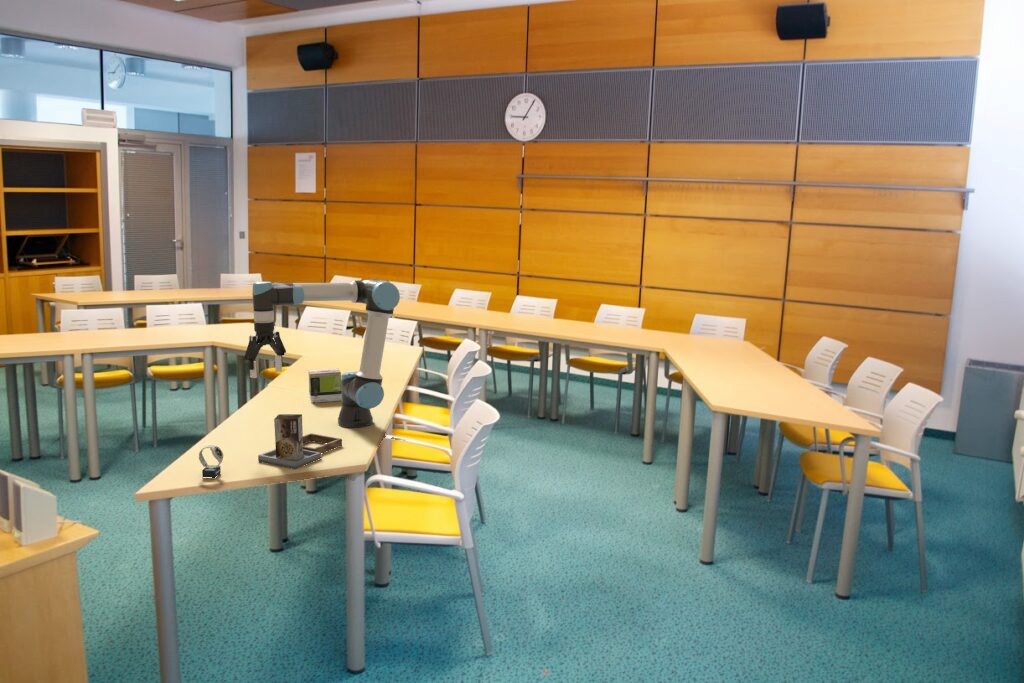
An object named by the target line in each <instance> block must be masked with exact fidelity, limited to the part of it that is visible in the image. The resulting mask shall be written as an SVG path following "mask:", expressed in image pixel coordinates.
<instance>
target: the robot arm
mask: <svg viewBox="0 0 1024 683" xmlns="http://www.w3.org/2000/svg"><path fill="white" fill-rule="evenodd" d="M400 298H401V296H400V290H399V289H398V287H397V286H396V285H395V284H394V283H393V282H390V281H387V280H382V279H378V278H369V279H361V280H359V279H358V280H351V282H292V283H291V282H274V283H273V282H271V281H255V282H254V283H253V284H252V301H253V302H252V308H253V321H254V323H253V328H254V332H255V335H252V334H251V335H249V337H248V344H247V347H246V350H245V354H244V357H243V361H246V362H247V363H248V369H249V376H250V377H249V378H252V379H258V375H257V373H258V372H257V361H255V360H256V358H257V357H258V355H259V353H260V351H261V349H262V348H263V347H264V346H267V345H269V346H270V348H271V349H272V350H273V351H274V353H275V355H274V362H275V363H274V364H275V366H274V367H275V369H274V370H275V372H279V373H282V372H283V366H282V364H283V356H284V355H285V354H287V350H286V347H285V345H284V342H283V341H282V338H281V335H280V331H276V330H275V322H274V320H275V313H274V310H275V309H274V306H275V307H276V306H292V305H294V306H297V305H302V304H303V303H304V302H332V301H334V302H335V301H336V302H337V301H339V302H340V301H341V302H343V301H344V302H345V301H346V302H347V301H348V302H349V301H350V302H351V303H354V304H365V312H366V313H367V321H366V327H365V334H364V341H363V346H362V353H361V354H362V355H361V358H360V359H361V360H360V364H359V365H360V366H359V370H358V371H349V372H344V373H341V395H342V401H341V408H340V410H339V414H338V418H337V425H338V424H339V426H340V425H341V427H343V426H344V427H345V428H363V427H368V426H370V425H373V423H374V422H373V421H374V420H373V419H374V418H373V416H372V412H371V409H375V408H377V407H378V406H379V405H380V404H381V403H382V402H383V400H384V396H385V391H384V388H383V386H382V384H383V376H382V375H381V367H382V363H383V355H384V350H385V343H386V337H387V331H388V325H389V318H391V317H392V316H393V315H394V311H395V308H396V307H397V306H398V304H399V303H400Z"/></svg>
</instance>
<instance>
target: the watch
mask: <svg viewBox="0 0 1024 683" xmlns="http://www.w3.org/2000/svg"><path fill="white" fill-rule="evenodd" d="M205 449H210V451H211V454H212V456H213V457H214V459H215V460H217V462H218V464H216V465H213V464H212V465H211V464H210V465H209V464H208V462H207V460H205V458H204V456H203V451H204V450H205ZM223 459H224V453H223V450H222V449H221V448H220V447H219V446H216V445H213V444H210V445H206V446H205V447H203V448H201V449H200V451H199V452H198V460H199V462H200V464H201V466H202V467H203V469H202V471H201V472H202V474H201V475H202V476H201V477H202V478H203V477H212V478H215V477H216V476H217V475H219V474H220V473H222V470H221V464H222V463H223ZM220 475H221V474H220ZM220 475H219V476H220Z"/></svg>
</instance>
